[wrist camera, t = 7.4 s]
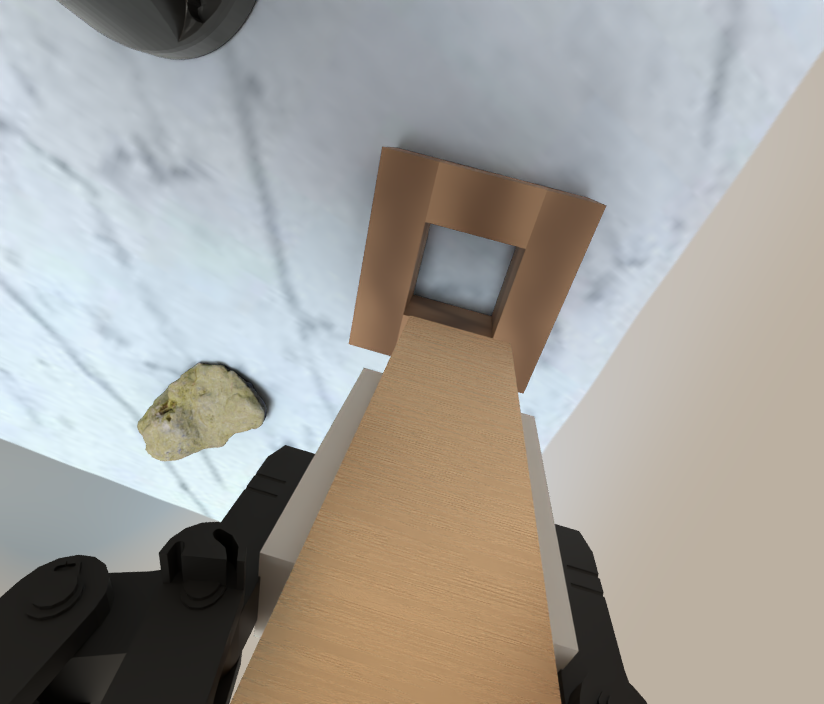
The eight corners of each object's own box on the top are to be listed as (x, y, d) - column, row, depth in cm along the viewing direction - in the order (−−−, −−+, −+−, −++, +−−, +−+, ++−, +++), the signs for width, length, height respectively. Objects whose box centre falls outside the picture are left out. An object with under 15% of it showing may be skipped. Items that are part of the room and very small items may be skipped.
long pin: (389, 398, 17) (141, 1035, 5) (409, 315, 15) (88, 1010, 3) (479, 424, 17) (464, 1152, 5) (511, 343, 15) (633, 1208, 3)
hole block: (364, 321, 34) (348, 344, 30) (397, 147, 27) (382, 146, 23) (518, 364, 33) (523, 393, 29) (588, 197, 27) (606, 205, 23)
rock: (283, 387, 40) (186, 337, 37) (261, 432, 35) (145, 378, 32) (244, 447, 45) (156, 407, 42) (219, 495, 40) (116, 452, 37)
